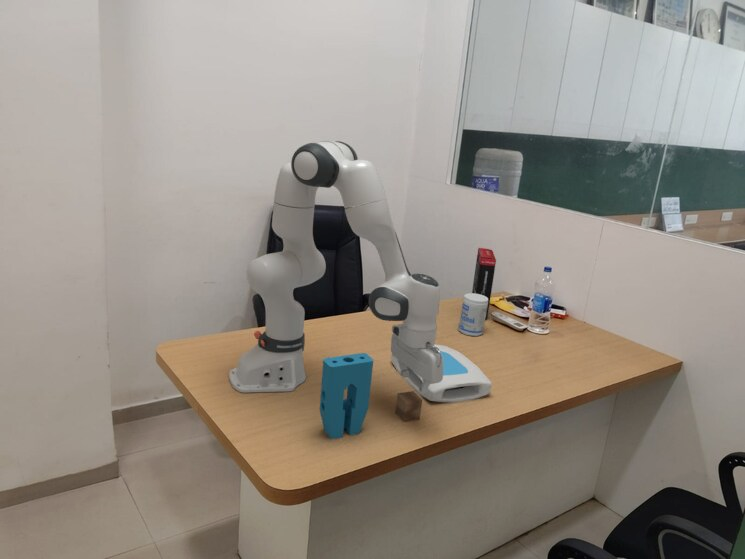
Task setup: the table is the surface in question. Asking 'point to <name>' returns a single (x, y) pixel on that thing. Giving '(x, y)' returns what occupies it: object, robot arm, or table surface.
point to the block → (335, 380)
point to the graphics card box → (484, 274)
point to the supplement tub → (473, 314)
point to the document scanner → (452, 379)
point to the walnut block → (408, 406)
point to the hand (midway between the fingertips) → (413, 383)
